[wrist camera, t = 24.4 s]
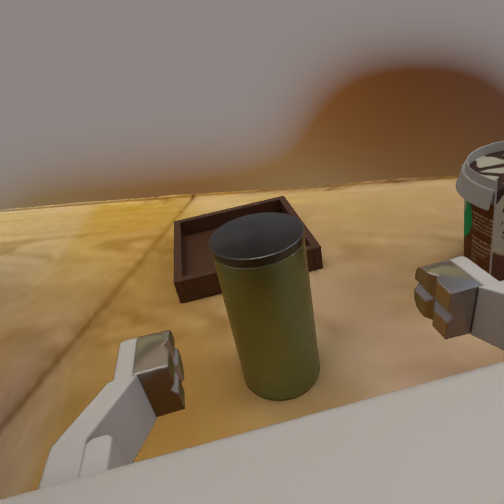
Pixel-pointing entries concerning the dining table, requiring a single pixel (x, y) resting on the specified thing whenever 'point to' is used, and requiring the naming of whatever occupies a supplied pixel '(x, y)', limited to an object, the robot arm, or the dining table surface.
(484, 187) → the food container
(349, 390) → the dining table surface
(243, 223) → the tin canister
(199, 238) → the tray
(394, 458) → the robot arm
